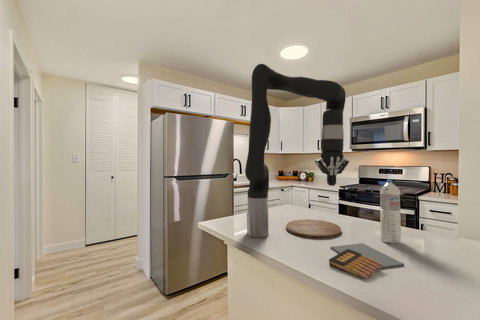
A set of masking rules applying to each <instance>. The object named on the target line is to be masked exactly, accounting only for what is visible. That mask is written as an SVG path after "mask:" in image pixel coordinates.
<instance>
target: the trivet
mask: <svg viewBox="0 0 480 320" xmlns="http://www.w3.org/2000/svg"><path fill="white" fill-rule="evenodd" d="M285 229H286V231H287V232H288V234H289V233H290V234H291V235H294V236H297V237H300V238H301V237H302V238H306V239H313V240H314V239H315V240H324V239H332V238H337V237H339V236H340V235H341V234H342V228H341V226H339V225H338V224H336V223H333V222H330V221H327V220H320V219H319V220H318V219H310V218H309V219H308V218H307V219H295V220H292V221H291V220H290V221H289V222H287V223H285Z"/></svg>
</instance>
